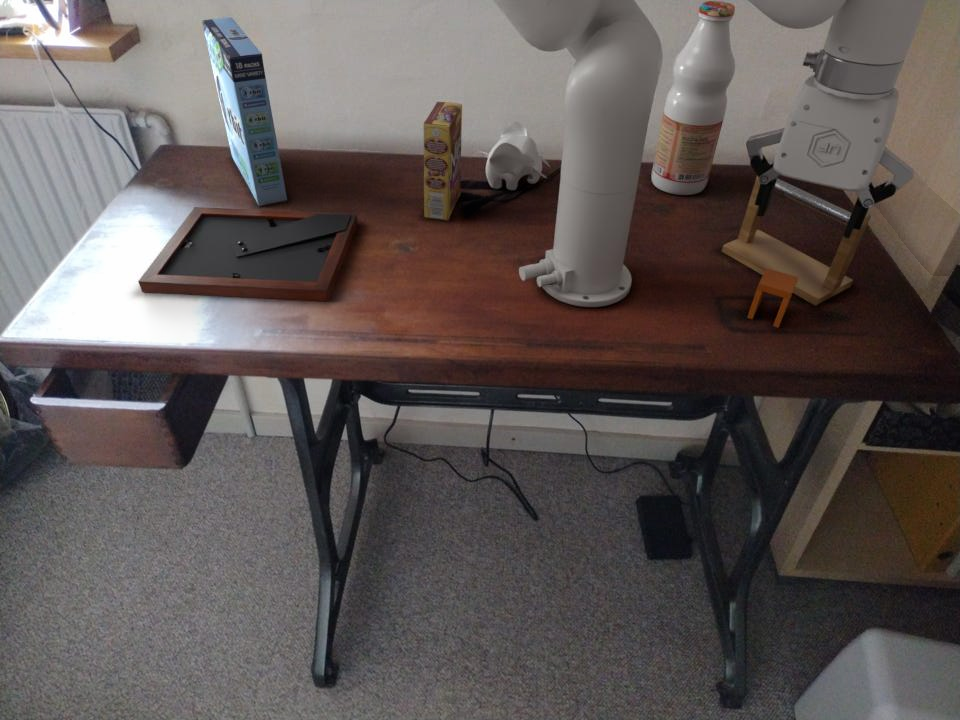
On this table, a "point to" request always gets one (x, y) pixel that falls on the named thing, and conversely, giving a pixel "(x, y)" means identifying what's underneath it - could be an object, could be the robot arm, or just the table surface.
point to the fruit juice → (695, 104)
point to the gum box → (246, 108)
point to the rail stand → (778, 256)
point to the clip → (774, 291)
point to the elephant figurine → (513, 158)
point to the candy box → (442, 160)
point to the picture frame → (253, 254)
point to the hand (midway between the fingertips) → (804, 221)
